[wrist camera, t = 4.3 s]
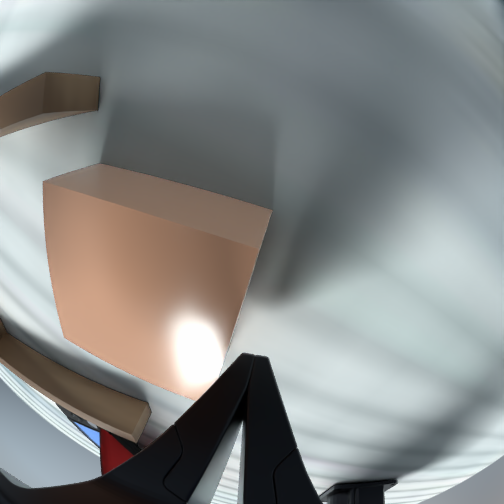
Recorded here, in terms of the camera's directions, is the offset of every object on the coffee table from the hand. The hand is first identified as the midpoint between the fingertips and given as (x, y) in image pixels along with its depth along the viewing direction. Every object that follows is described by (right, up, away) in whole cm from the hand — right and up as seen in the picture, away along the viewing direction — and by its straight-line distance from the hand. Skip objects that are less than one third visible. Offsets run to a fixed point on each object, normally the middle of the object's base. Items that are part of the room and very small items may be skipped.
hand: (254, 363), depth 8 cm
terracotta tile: (-3, +3, +1) cm, 5 cm away
